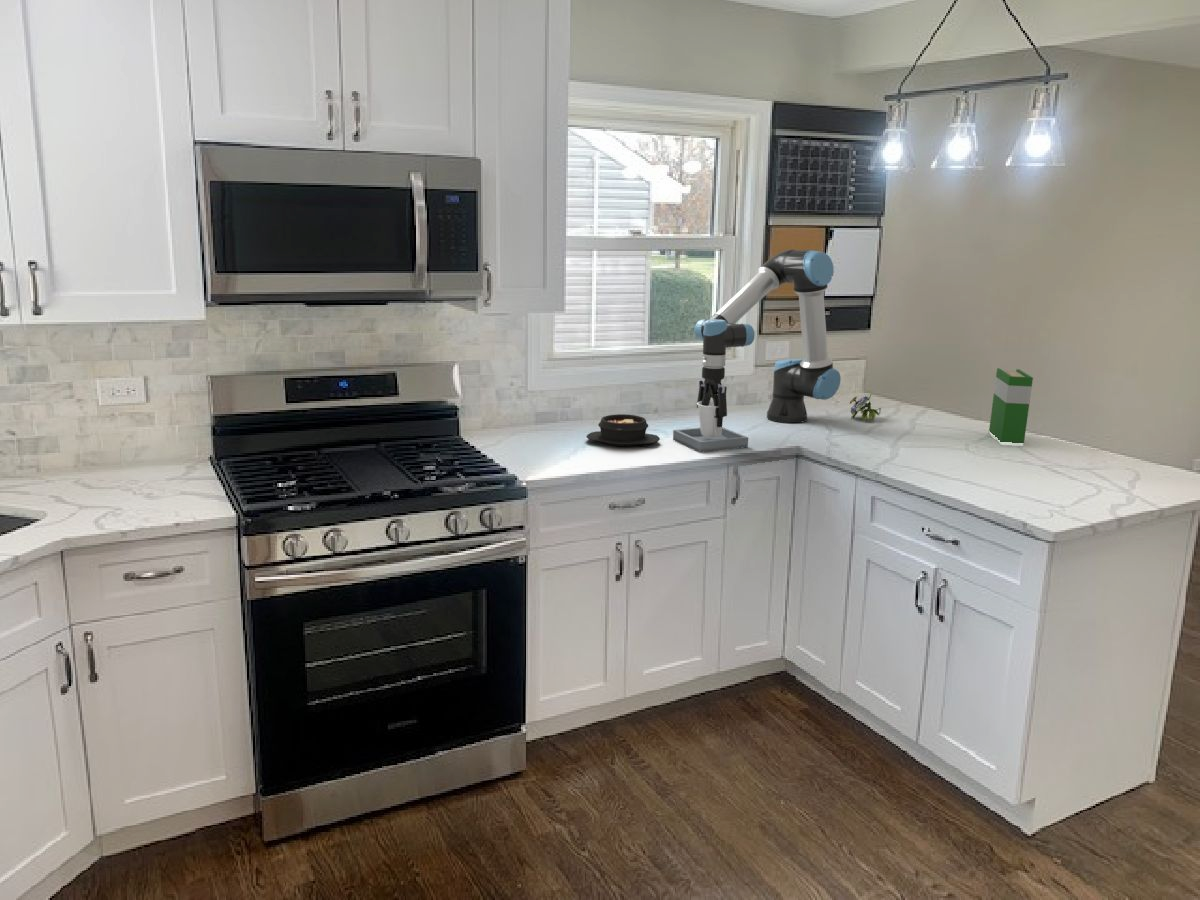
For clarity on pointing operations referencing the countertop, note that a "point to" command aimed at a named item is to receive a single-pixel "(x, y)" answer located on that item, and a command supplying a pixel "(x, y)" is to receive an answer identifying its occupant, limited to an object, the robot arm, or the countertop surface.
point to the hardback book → (1010, 405)
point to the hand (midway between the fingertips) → (710, 433)
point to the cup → (707, 418)
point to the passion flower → (861, 406)
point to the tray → (709, 440)
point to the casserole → (623, 431)
